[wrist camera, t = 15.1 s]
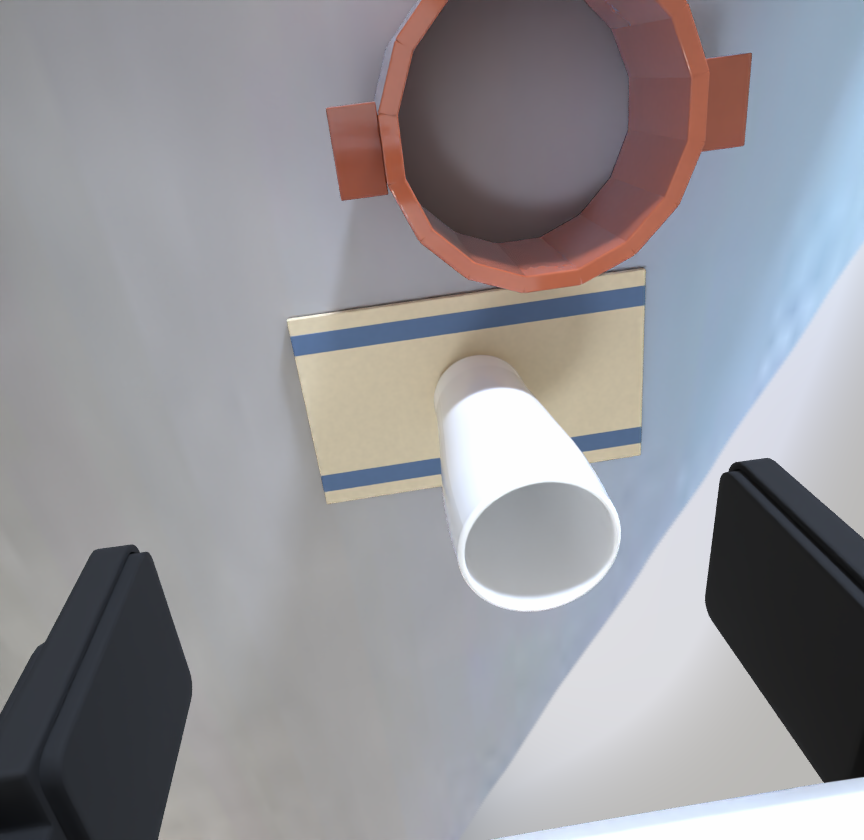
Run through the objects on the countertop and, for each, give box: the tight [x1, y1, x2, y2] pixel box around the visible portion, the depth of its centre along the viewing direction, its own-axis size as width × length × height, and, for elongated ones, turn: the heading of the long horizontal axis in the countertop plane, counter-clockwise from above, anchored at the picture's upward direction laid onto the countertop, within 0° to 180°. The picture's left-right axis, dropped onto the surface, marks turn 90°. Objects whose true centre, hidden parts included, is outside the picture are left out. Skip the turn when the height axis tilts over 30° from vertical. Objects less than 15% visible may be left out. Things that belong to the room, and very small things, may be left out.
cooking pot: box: [326, 0, 752, 293], centre depth 31 cm, size 18×14×7 cm
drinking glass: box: [434, 355, 621, 612], centre depth 34 cm, size 7×7×15 cm
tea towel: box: [287, 268, 646, 504], centre depth 41 cm, size 20×12×1 cm, turn 97°
